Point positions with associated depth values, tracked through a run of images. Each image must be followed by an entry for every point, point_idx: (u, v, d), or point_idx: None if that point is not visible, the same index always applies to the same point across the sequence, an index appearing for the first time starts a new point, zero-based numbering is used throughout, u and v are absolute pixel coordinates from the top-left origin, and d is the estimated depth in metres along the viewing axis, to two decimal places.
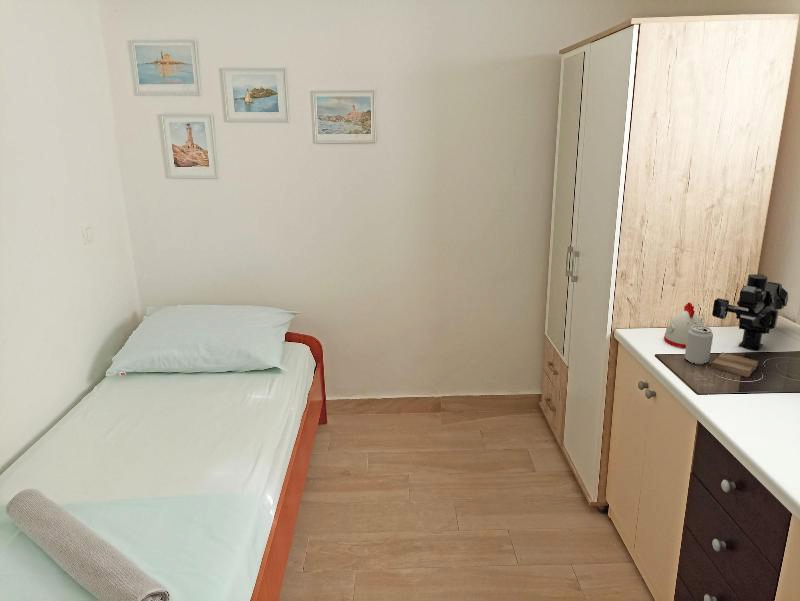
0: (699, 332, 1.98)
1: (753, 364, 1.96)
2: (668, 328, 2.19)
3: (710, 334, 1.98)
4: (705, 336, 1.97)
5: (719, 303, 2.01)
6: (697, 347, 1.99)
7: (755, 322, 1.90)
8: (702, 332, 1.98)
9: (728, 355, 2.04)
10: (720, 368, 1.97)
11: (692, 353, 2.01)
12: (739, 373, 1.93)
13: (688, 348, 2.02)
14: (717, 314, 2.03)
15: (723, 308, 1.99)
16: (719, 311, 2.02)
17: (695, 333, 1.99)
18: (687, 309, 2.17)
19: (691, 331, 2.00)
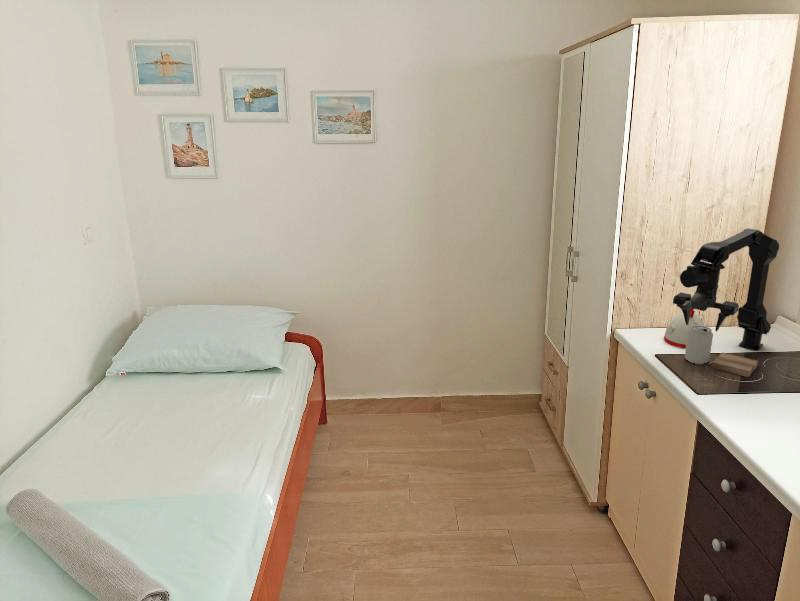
0: (699, 332, 1.98)
1: (753, 364, 1.96)
2: (668, 328, 2.19)
3: (710, 334, 1.98)
4: (705, 336, 1.97)
5: None
6: (697, 347, 1.99)
7: (718, 328, 1.96)
8: (702, 332, 1.98)
9: (728, 354, 2.04)
10: (720, 368, 1.97)
11: (692, 353, 2.01)
12: (739, 373, 1.93)
13: (688, 348, 2.02)
14: None
15: (684, 312, 2.01)
16: None
17: (695, 333, 1.99)
18: None
19: (691, 331, 2.00)
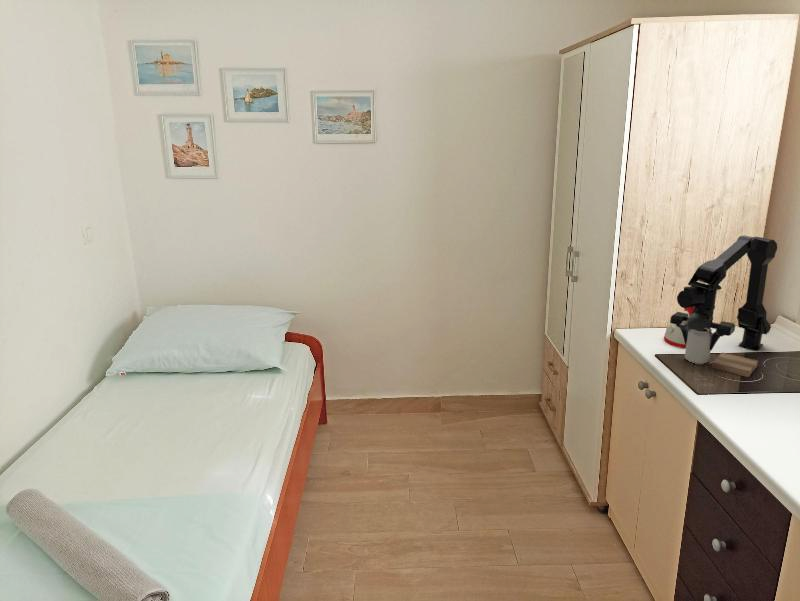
0: (699, 332, 1.98)
1: (753, 364, 1.96)
2: (668, 328, 2.19)
3: (710, 334, 1.98)
4: (705, 336, 1.97)
5: None
6: (697, 347, 1.99)
7: None
8: (702, 332, 1.98)
9: (728, 354, 2.04)
10: (720, 368, 1.97)
11: (692, 353, 2.01)
12: (739, 373, 1.93)
13: (688, 348, 2.02)
14: None
15: (684, 332, 2.03)
16: None
17: (695, 333, 1.99)
18: (687, 309, 2.17)
19: (691, 331, 2.00)
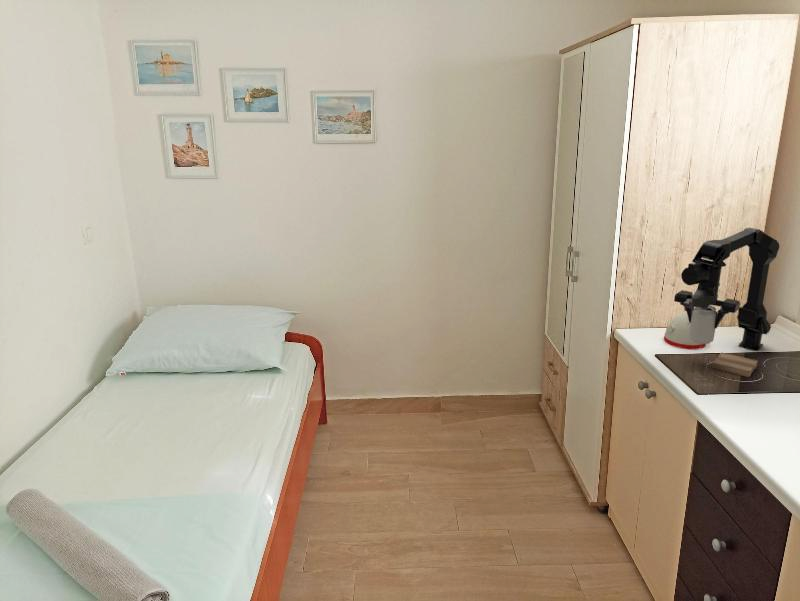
0: (703, 311, 1.96)
1: (753, 364, 1.96)
2: (668, 328, 2.19)
3: (714, 313, 1.96)
4: (709, 315, 1.95)
5: None
6: (701, 326, 1.97)
7: (717, 325, 1.96)
8: (706, 311, 1.95)
9: (727, 354, 2.04)
10: (721, 368, 1.97)
11: (696, 333, 1.98)
12: (739, 373, 1.93)
13: (692, 327, 1.99)
14: None
15: (688, 310, 2.01)
16: None
17: (699, 312, 1.96)
18: None
19: (695, 310, 1.98)
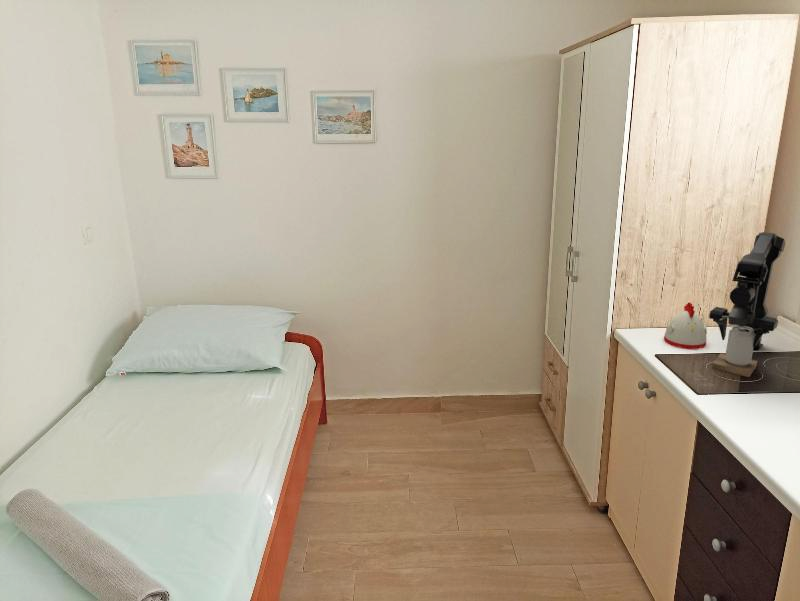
0: (742, 333, 1.92)
1: (753, 364, 1.96)
2: (668, 328, 2.19)
3: (753, 334, 1.92)
4: (748, 337, 1.91)
5: None
6: (739, 348, 1.93)
7: (756, 343, 1.92)
8: (745, 332, 1.92)
9: None
10: (721, 369, 1.97)
11: (734, 355, 1.94)
12: (740, 373, 1.93)
13: (730, 349, 1.96)
14: None
15: (721, 327, 1.97)
16: None
17: (737, 334, 1.93)
18: (687, 309, 2.17)
19: (733, 332, 1.94)
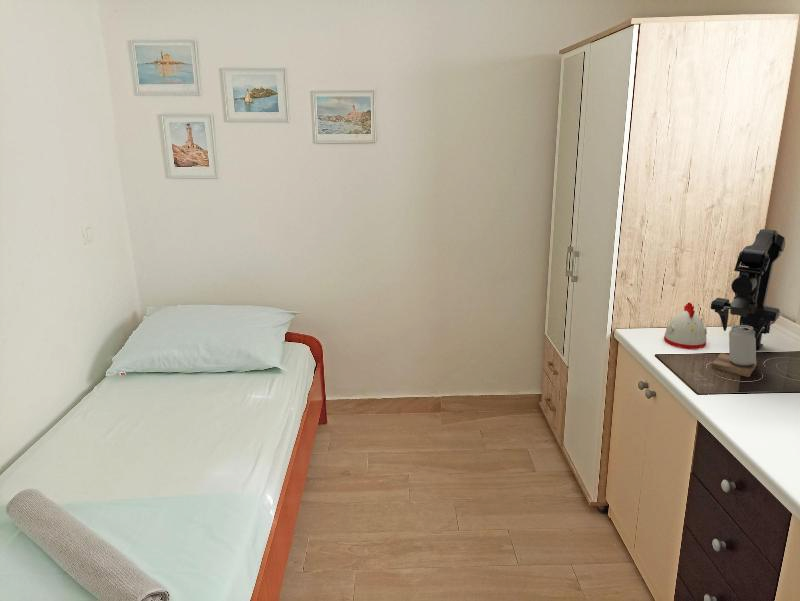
0: (741, 332, 1.92)
1: (753, 364, 1.96)
2: (668, 328, 2.19)
3: (753, 332, 1.92)
4: (748, 335, 1.91)
5: None
6: (741, 348, 1.92)
7: (758, 334, 1.91)
8: (744, 331, 1.91)
9: (727, 355, 2.04)
10: (720, 369, 1.97)
11: (738, 355, 1.94)
12: (739, 373, 1.93)
13: (732, 350, 1.95)
14: None
15: (722, 317, 1.96)
16: None
17: (737, 333, 1.92)
18: (687, 309, 2.17)
19: (732, 332, 1.94)
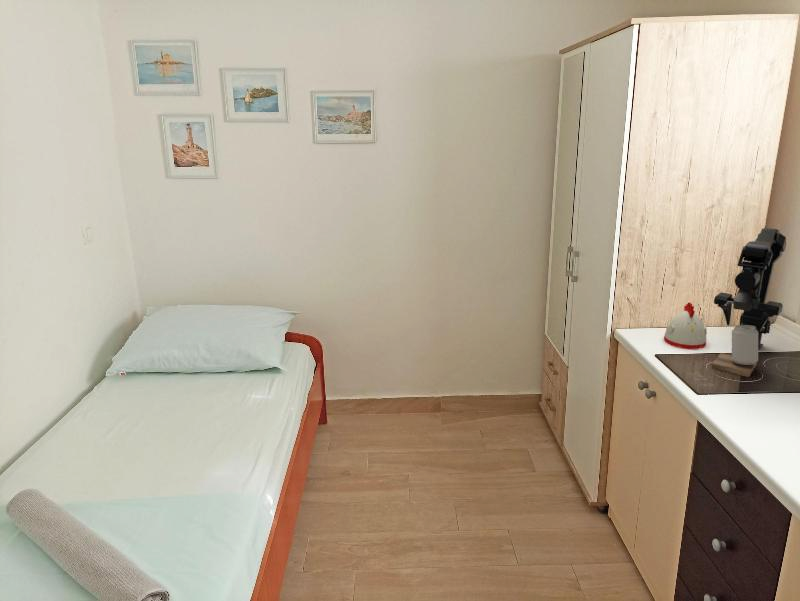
0: (744, 330, 1.92)
1: (752, 364, 1.96)
2: (668, 328, 2.19)
3: (755, 331, 1.92)
4: (751, 333, 1.91)
5: None
6: (744, 346, 1.92)
7: (761, 328, 1.93)
8: (747, 329, 1.92)
9: (726, 355, 2.04)
10: (720, 369, 1.97)
11: (740, 353, 1.93)
12: (739, 374, 1.93)
13: (735, 349, 1.95)
14: None
15: (726, 312, 1.98)
16: None
17: (740, 331, 1.93)
18: (687, 309, 2.17)
19: (735, 330, 1.95)
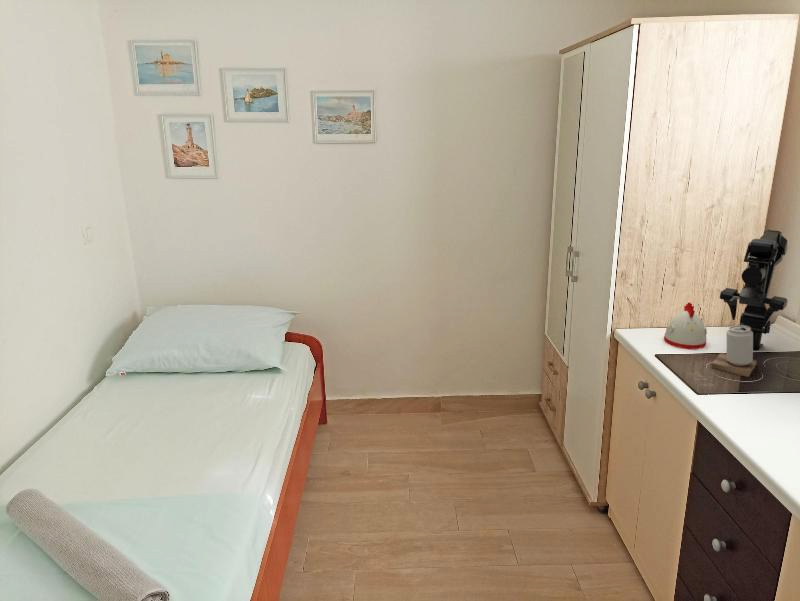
0: (741, 332, 1.91)
1: (752, 364, 1.96)
2: (668, 328, 2.19)
3: (751, 332, 1.92)
4: (748, 335, 1.91)
5: None
6: (741, 348, 1.92)
7: (766, 323, 1.97)
8: (744, 332, 1.91)
9: (726, 355, 2.04)
10: (720, 369, 1.97)
11: (737, 355, 1.93)
12: (739, 373, 1.93)
13: (731, 351, 1.94)
14: None
15: (731, 307, 2.02)
16: None
17: (737, 334, 1.92)
18: (687, 309, 2.17)
19: (731, 333, 1.93)
